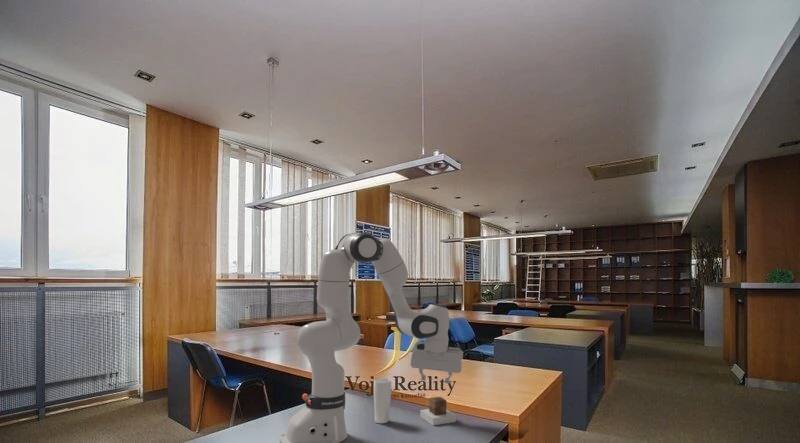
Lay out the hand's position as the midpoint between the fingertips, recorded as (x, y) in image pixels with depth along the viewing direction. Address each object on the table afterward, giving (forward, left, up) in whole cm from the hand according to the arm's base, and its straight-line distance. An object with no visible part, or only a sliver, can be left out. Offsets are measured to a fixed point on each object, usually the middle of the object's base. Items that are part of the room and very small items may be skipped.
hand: (435, 381), depth 164 cm
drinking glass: (-21, +5, -14) cm, 25 cm away
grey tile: (0, -1, -14) cm, 14 cm away
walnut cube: (0, -2, -11) cm, 11 cm away
